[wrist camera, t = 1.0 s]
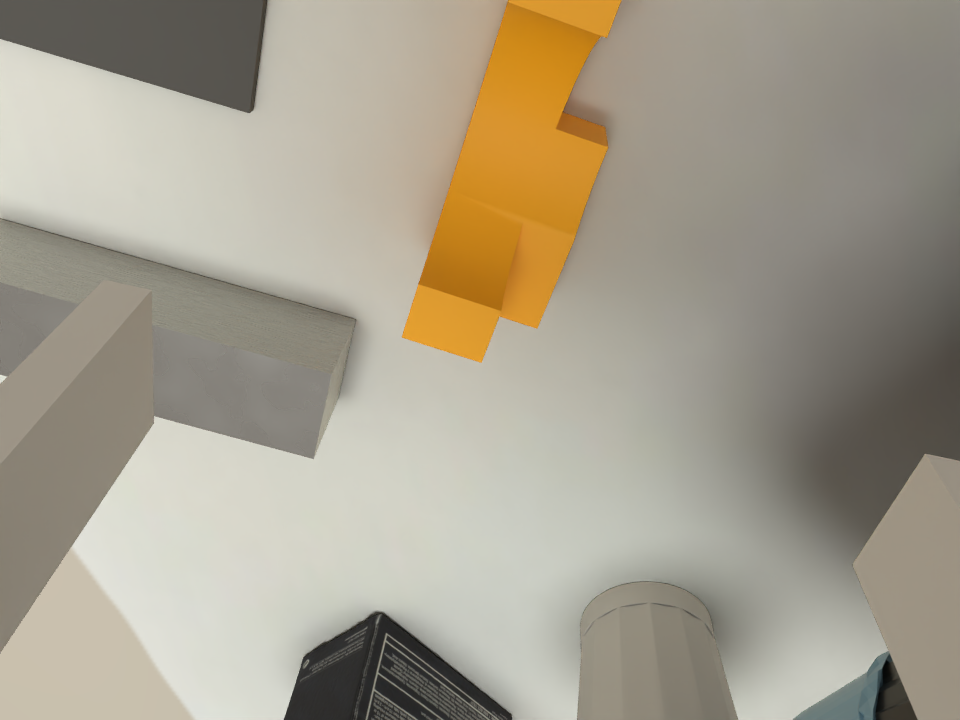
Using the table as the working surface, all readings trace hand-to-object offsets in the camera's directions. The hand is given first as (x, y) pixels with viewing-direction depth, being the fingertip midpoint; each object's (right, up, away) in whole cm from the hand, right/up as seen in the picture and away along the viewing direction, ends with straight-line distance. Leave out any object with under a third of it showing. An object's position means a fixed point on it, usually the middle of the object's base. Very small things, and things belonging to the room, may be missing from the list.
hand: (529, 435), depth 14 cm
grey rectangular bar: (-13, +3, +19) cm, 23 cm away
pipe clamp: (+1, +10, +14) cm, 17 cm away
